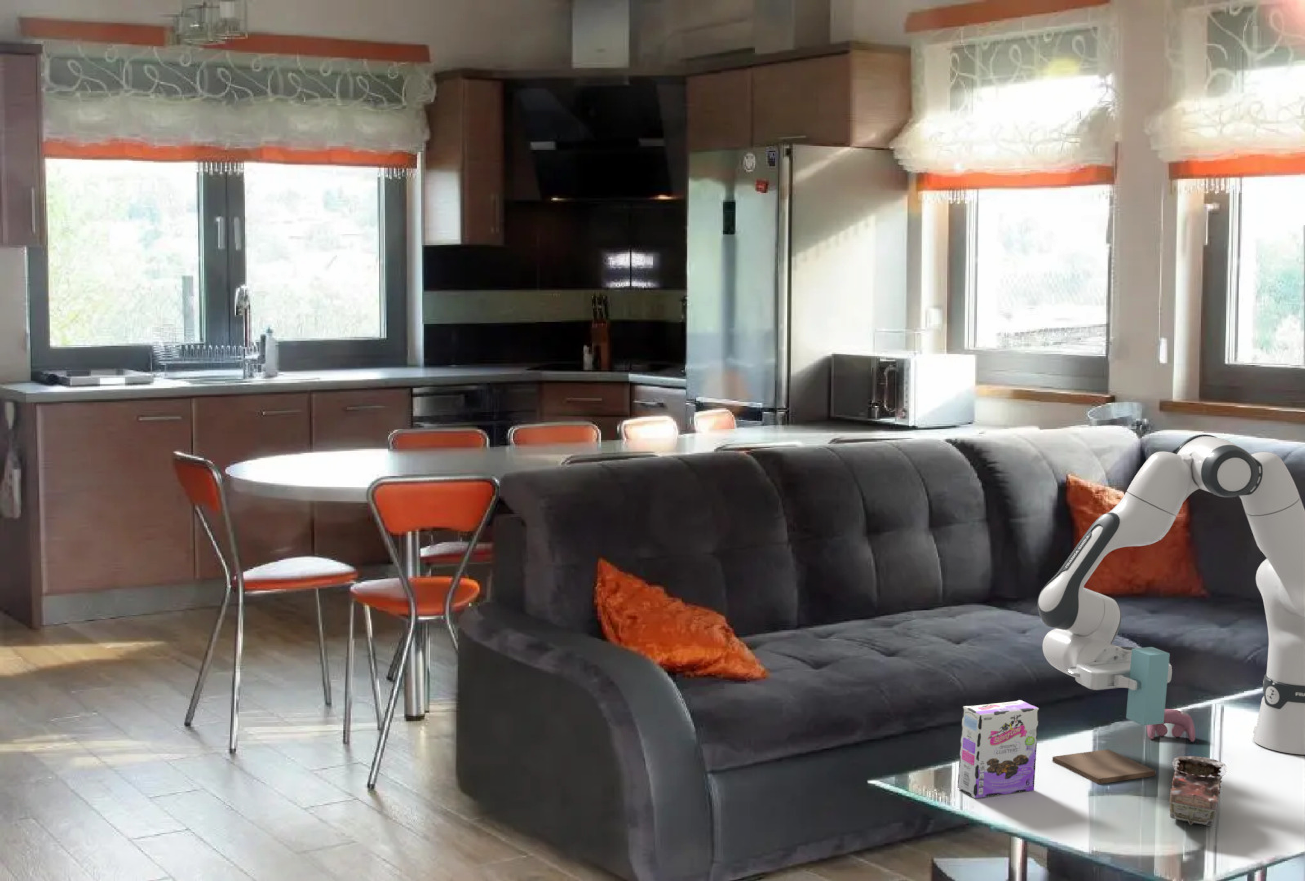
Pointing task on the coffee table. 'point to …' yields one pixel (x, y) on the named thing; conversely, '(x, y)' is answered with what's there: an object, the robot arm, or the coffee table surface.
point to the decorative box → (1196, 789)
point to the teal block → (1148, 686)
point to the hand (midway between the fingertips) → (1150, 684)
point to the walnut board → (1103, 766)
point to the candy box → (998, 748)
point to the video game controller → (1181, 724)
